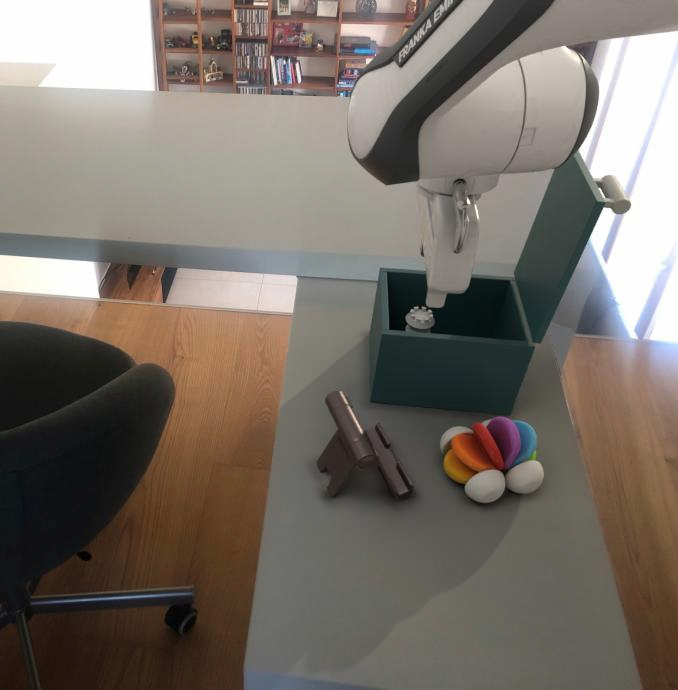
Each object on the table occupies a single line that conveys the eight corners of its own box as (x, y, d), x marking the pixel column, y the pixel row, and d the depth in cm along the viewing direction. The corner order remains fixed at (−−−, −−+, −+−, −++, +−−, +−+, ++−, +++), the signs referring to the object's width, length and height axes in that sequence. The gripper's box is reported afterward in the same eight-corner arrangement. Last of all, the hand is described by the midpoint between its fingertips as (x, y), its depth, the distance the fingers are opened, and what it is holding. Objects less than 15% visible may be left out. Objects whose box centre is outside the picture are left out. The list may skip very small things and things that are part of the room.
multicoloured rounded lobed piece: (423, 450, 74) (436, 403, 70) (505, 433, 76) (522, 386, 71) (463, 514, 68) (479, 467, 63) (550, 494, 70) (573, 446, 65)
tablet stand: (412, 499, 70) (427, 444, 64) (338, 515, 68) (347, 460, 63) (377, 436, 76) (388, 381, 71) (309, 449, 75) (315, 394, 70)
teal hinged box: (370, 402, 80) (381, 333, 73) (369, 333, 90) (379, 267, 83) (510, 415, 78) (535, 346, 71) (494, 343, 88) (515, 276, 81)
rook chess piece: (386, 354, 85) (396, 303, 80) (421, 351, 85) (433, 299, 80) (398, 379, 82) (409, 327, 77) (434, 375, 82) (447, 323, 77)
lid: (596, 201, 60) (654, 207, 60) (565, 139, 70) (615, 145, 69) (532, 342, 71) (581, 349, 71) (513, 273, 81) (555, 278, 80)
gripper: (507, 214, 58) (471, 340, 67) (477, 118, 73) (451, 231, 82) (429, 210, 59) (405, 335, 68) (416, 115, 74) (397, 227, 83)
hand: (430, 277), depth 75 cm, fingers open, 8 cm apart
